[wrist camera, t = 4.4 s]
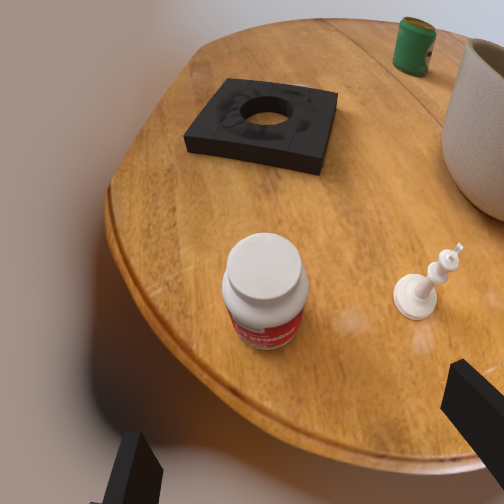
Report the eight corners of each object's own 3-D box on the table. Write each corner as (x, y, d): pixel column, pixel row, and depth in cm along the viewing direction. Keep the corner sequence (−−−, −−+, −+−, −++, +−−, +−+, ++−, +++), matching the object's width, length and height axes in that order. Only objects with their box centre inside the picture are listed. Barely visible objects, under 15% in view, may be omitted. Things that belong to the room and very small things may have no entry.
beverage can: (423, 81, 51) (435, 33, 40) (388, 67, 53) (397, 19, 43) (428, 70, 54) (438, 26, 43) (396, 57, 56) (404, 13, 46)
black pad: (187, 152, 41) (183, 135, 39) (229, 92, 49) (227, 78, 46) (319, 176, 38) (321, 158, 35) (336, 108, 45) (338, 93, 42)
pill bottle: (230, 349, 28) (207, 307, 18) (236, 287, 31) (220, 221, 21) (299, 352, 27) (314, 313, 18) (300, 290, 30) (313, 224, 21)
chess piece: (442, 296, 29) (491, 247, 20) (419, 329, 27) (471, 288, 18) (409, 267, 31) (449, 210, 22) (384, 298, 29) (423, 245, 21)
